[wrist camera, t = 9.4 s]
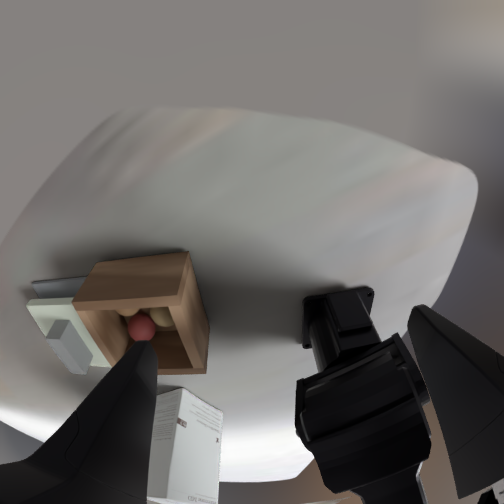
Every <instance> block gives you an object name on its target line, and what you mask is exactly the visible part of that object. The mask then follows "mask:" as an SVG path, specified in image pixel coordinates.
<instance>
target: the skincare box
mask: <svg viewBox="0 0 504 504" xmlns="http://www.w3.org/2000/svg"><path fill="white" fill-rule="evenodd" d="M222 420H223V414H222V411H220V410H218V409H216V408H214V407H212V406H211V405H209V404H207V403H205V402H204V401H202V400H200V399H199V398H197V397H196V396H194V395H193V394H191V393H190V392H189V391H187V390H186V389H184V388H180V389H176V390H173V391H170V392H167V393H163V394H159V395H157V400H156V408H155V416H154V424H153V432H152V441H151V451H150V461H149V473H148V486H147V499H148V500H152V501H155V502H158V503H161V504H218V489H219V488H218V487H219V471H220V454H221V436H222Z"/></svg>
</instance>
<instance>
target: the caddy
mask: <svg viewBox="0 0 504 504" xmlns="http://www.w3.org/2000/svg"><path fill="white" fill-rule="evenodd" d="M71 303H72V305H73V307H74V308H75V310H76V312H77V314H78V315H79V317H80V319H81V321H82V322H83V324H84V326H85V327H86V329H87V331H88V332H89V334H90V335H91V337H92V339H93V340H94V342H95V343H96V345H97V346H98V348H99V349H100V351H101V352H102V354H103V355H104V357H105V358H106V360H107V361H108V362H109V364H110V365H111V367H113V366H114V365H115V364H116V363H117V362H118V361H119V360H120V358H121V357H122V356H123V355H124V354H125V353H126V352H127V351H128V350H129V348H130V347H131V346H132V345H133V344H134V343H135V342H136V341H137V340H148V341H149V342H150V343H151V345H152V347H153V349H154V351H155V353H156V355H157V358H158V371H157V375H182V374H206V371H207V357H208V345H209V333H210V327H209V323H208V320H207V317H206V313H205V310H204V306H203V303H202V299H201V295H200V292H199V288H198V285H197V281H196V277H195V273H194V269H193V266H192V262H191V258H190V254H189V251H185V252H177V253H169V254H161V255H152V256H144V257H136V258H128V259H120V260H112V261H104V262H97V263H96V264H95V266H94V267H93V269H92V270H91V272H90V273H89V275H88V276H87V278H86V279H85V281H84V282H83V284H82V286H81V287H80V289H79V290H78V292H77V293H76V295H75V297H74V298H73V300H72V302H71Z"/></svg>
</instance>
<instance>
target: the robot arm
mask: <svg viewBox="0 0 504 504" xmlns="http://www.w3.org/2000/svg"><path fill="white" fill-rule="evenodd" d="M368 293H369V294H368ZM373 298H374V291H373V289H372V288H363V289H357V290H351V291H344V292H338V293H331V294H324V295H317V296H310V297H306V298H304V300H303V314H302V346H303V348H304V349H309V348H312V349H313V353H314V357H315V361H316V365H317V369H318V373H317V374H314V375H312V376H310V377H307V378H305V379H304V378H302V379H300V380H297V386H296V404H295V428H296V434H297V436H298V437H300V439H301V441H302V443H303V444H304V446H305V447H306V448H307V450H309V451H310V452H312V454H313V455H314V458H315V460H316V462H317V464H318V467H319V470H320V472H321V476H322V479H323V482H324V485H325V486H326V487H327V488H328V489H329V490H331V491H332V492H333V493H335V494H337V493H341V492H345V491H350V492H352V493H354V494H356V495H358V496H359V497H360V498H361V500H362V502H363V504H428V501H427V497H426V494H425V490H424V487H423V483H422V480H421V477H420V474H419V471H420V468H421V466H422V463H423V461H425V460H427V459H428V458H429V454H430V449H431V441H430V438H431V431H430V428H429V425H428V422H427V419H426V416H425V413H424V411H423V408H422V406H424V405H426V404H428V403H429V402H430V397H429V394H430V396H431V399H432V402H433V405H434V408H435V411H436V414H437V417H438V420H439V424H440V426H441V430H442V433H443V437H444V440H445V444H446V447H447V451H448V455H449V459H450V463H451V467H452V471H453V475H454V480H455V484H456V490H457V495H458V499H461V498H464V497H466V496H468V495H471V494H473V493H475V492H478V491H480V490H482V489H484V488H486V487H488V486H490V485H492V487H491V488H490V489H488V490H487V491H486V492H484V493H483V494H481V497H480V499H479V502H478V504H504V356H502V355H501V354H499V353H498V352H495V350H493V349H492V348H490V347H489V346H488V345H486V344H485V343H483V342H482V341H480V340H479V339H477V338H476V337H474V336H472V335H471V334H470V333H468V332H467V331H465V330H464V329H462V328H461V327H459V326H458V325H456V324H454V323H453V322H451V321H450V320H448V319H447V318H445V317H443V316H442V315H440V314H439V313H437V312H435V311H434V310H432V309H431V308H429V307H428V306H426V305H424V304H421V305H417V306H414V307H413V309H412V311H411V314H410V317H409V320H408V324H407V327H408V331H409V334H410V338H411V341H412V344H413V348H414V351H415V355H416V358H417V361H418V364H419V367H420V370H421V372H422V375H423V377H424V380H425V382H424V380H423V378H422V375H421V373H420V371H419V369H418V367H417V365H416V363H415V361H414V360H413V358H412V356H411V354H410V353H409V351H408V349H407V348H406V346H405V344H404V343H403V341H402V339H401V338H400V336H399V334H398V333H395V334H393V335H392V337H390V338H389V339H387V340H385V341H383V342H382V341H381V339H380V337H379V335H378V333H377V331H376V329H375V327H374V325H373V322H372V320H371V318H370V312H371V308H372V303H373ZM308 302H310V303H308ZM157 371H158V358H157V355H156V353H155V351H154V349H153V347H152V345H151V343H150V342H149V341H148V340H137V341H136V342H135V343H134V344H133V345H132V346H131V347H130V348H129V350H128V351H127V352H126V353H125V354H124V355H123V356H122V357H121V358H120V360H119V361H118V362H117V363H116V364H115V365H114V366H113V367H112V369H111V370H110V371H109V372H108V373H107V374H106V375H105V377H104V378H103V379H102V380H101V381H100V382H99V383H98V384H97V386H96V387H95V388H94V389H93V390H92V391H91V393H90V394H89V395H88V396H87V397H86V398H85V399H84V401H83V402H82V403H81V404H80V405H79V406H78V408H77V409H76V410H75V411H74V412H73V413H72V414H71V416H70V417H69V418H68V419H67V420H66V421H65V422H64V424H63V425H62V426H61V427H60V428H59V429H58V430H57V431H56V432H55V433H54V434H53V435H52V436H51V437H50V438H49V439H48V440H47V441H46V442H45V443H44V444H43V445H42V446H41V447H39V449H38V450H37V451H35V452H34V454H32V455H31V456H29V457H28V458H26V459H24V460H21V461H18V462H12V463H7V464H1V465H0V504H147V502H146V501H147V486H148V473H149V461H150V451H151V441H152V432H153V424H154V416H155V408H156V400H157ZM425 383H426V385H425ZM426 386H427V388H428V391H429V394H428V391H427V388H426Z"/></svg>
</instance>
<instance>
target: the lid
mask: <svg viewBox="0 0 504 504" xmlns="http://www.w3.org/2000/svg"><path fill="white" fill-rule="evenodd" d="M73 298H74V297H71V298H50V299H30V301H29V302H28V303H27V305H26V307H27V308H28V310H29V312H30V313H31V315H32V316H33V318H34V320H35V321H36V323H37V324H38V326H39V327H40V329H41V330H42V332H43V333H44V335H45V336H46V338H45V339H46V341H47V342H48V344H49V345H50V346H51V348H52V349H53V351H54V352H55V353H56V355H57V356H58V357H59V358H60V360H61V361H62V362H63V364H64V365H65V366H66V367H67V369H68V370H69V371H70V372H71V373H74V374H83V375H86V374H87V371H88V368H89V366H100V367H111V365H110V364H109V362H108V361H107V360H106V358H105V357H104V355H103V354H102V352H101V351H100V349H99V348H98V346H97V345H96V343H95V342H94V340H93V339H92V337H91V335H90V334H89V332H88V331H87V329H86V327H85V326H84V324H83V322H82V321H81V319H80V317H79V315H78V314H77V312H76V310H75V308H74V307H73V305H72V303H71V302H72V300H73Z"/></svg>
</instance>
